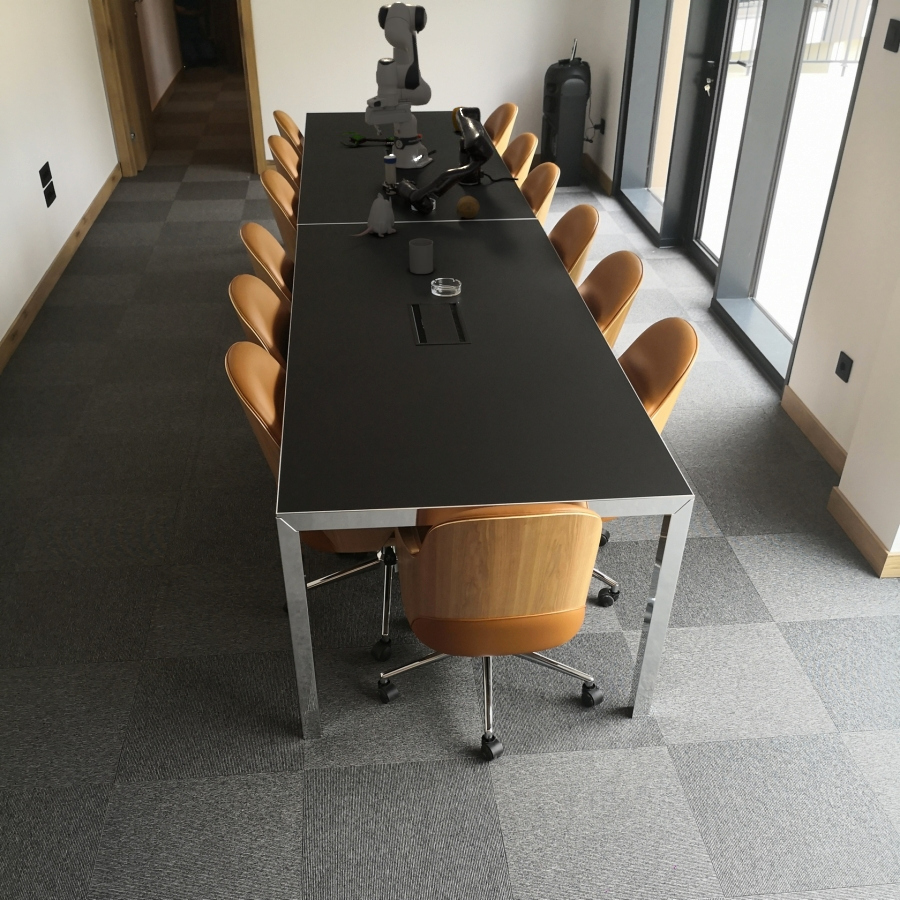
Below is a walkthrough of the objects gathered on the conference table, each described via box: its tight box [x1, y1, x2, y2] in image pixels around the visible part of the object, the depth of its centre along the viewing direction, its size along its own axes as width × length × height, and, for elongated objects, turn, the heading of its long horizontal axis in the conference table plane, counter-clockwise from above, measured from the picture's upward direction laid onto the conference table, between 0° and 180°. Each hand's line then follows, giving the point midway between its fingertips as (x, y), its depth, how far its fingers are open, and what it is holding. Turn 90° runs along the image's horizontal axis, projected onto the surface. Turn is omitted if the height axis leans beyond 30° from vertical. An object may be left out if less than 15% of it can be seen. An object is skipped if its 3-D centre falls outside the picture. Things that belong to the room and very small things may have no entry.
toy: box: [349, 192, 397, 238], centre depth 334 cm, size 9×24×15 cm, turn 137°
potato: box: [456, 195, 481, 219], centre depth 357 cm, size 10×14×8 cm
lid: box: [383, 155, 396, 164], centre depth 380 cm, size 6×6×2 cm
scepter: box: [339, 131, 394, 148], centre depth 461 cm, size 6×13×30 cm
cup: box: [408, 237, 434, 275], centre depth 305 cm, size 8×8×10 cm
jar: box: [384, 163, 397, 195], centre depth 384 cm, size 5×5×15 cm
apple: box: [451, 105, 464, 132], centre depth 487 cm, size 11×11×13 cm
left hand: (389, 134), depth 375 cm, fingers open, 8 cm apart
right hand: (394, 182), depth 381 cm, fingers open, 8 cm apart
